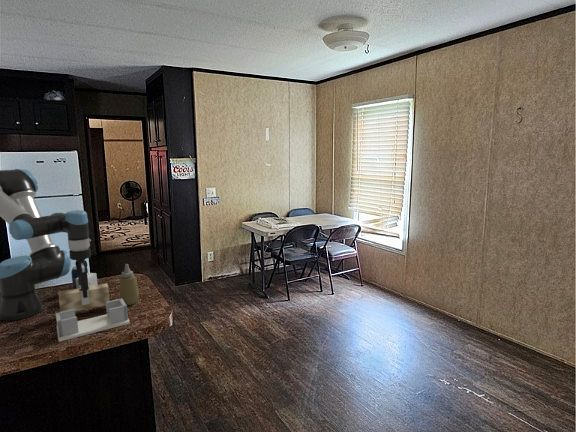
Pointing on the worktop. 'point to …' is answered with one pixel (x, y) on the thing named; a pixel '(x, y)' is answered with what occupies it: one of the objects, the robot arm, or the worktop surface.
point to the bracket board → (91, 321)
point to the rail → (74, 301)
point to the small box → (89, 280)
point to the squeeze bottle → (128, 287)
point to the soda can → (74, 276)
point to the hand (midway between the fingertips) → (85, 301)
